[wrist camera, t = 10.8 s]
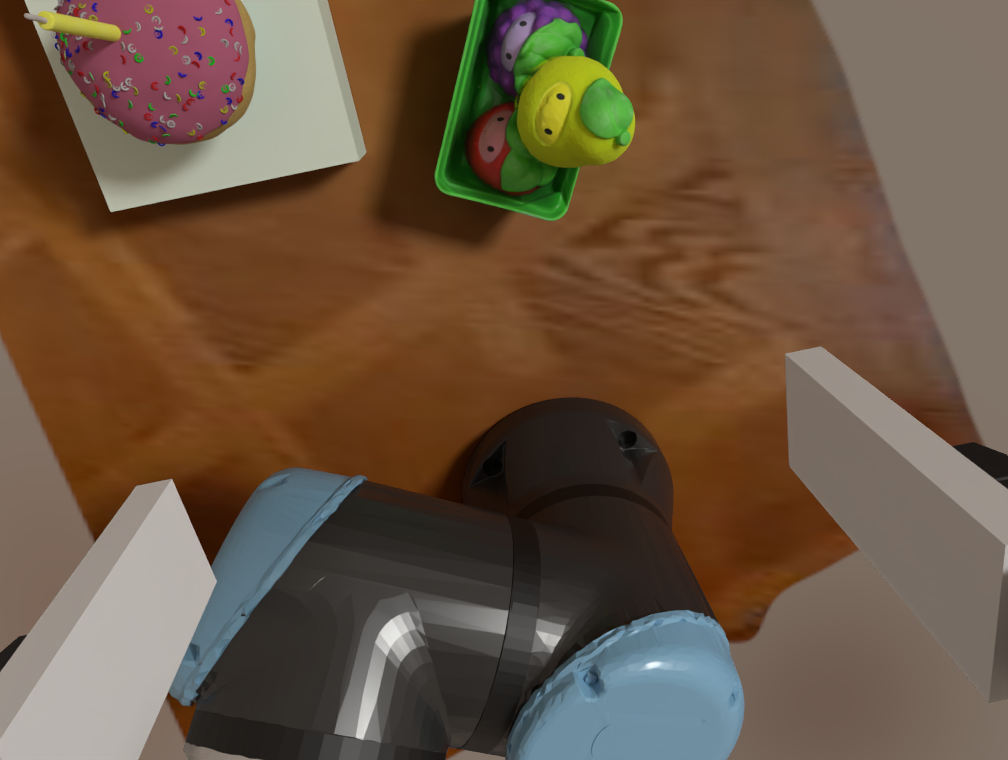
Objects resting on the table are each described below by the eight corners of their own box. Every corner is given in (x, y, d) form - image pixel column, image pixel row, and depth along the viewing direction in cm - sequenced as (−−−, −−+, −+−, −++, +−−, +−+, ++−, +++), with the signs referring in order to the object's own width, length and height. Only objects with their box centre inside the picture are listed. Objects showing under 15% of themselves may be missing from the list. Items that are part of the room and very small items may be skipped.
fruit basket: (478, -28, 41) (488, -58, 30) (628, 19, 42) (686, 5, 32) (432, 177, 45) (427, 211, 35) (570, 213, 46) (605, 257, 36)
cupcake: (85, 92, 38) (-61, 105, 27) (126, -81, 35) (-20, -146, 24) (248, 162, 40) (174, 201, 29) (299, 3, 37) (238, -21, 26)
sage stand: (366, 152, 44) (359, 160, 40) (138, 199, 44) (110, 212, 41) (296, -122, 38) (280, -141, 35) (35, -67, 39) (-9, -80, 35)
